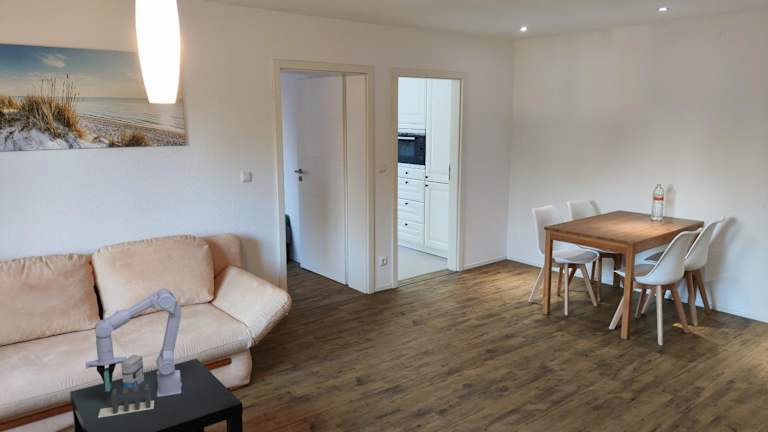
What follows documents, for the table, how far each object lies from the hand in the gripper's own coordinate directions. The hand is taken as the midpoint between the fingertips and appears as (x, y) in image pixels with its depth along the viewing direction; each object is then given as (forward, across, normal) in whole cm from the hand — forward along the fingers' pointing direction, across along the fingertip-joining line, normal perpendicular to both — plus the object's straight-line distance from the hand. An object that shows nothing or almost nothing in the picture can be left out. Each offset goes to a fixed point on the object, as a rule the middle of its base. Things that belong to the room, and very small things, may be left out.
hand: (108, 381), depth 227 cm
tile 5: (+9, -15, +7) cm, 19 cm away
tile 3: (+10, -7, +7) cm, 14 cm away
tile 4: (+9, -11, +7) cm, 16 cm away
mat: (+10, -7, +7) cm, 14 cm away
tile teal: (+3, 0, 0) cm, 3 cm away
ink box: (+10, -8, -16) cm, 20 cm away
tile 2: (+10, -3, +7) cm, 12 cm away
